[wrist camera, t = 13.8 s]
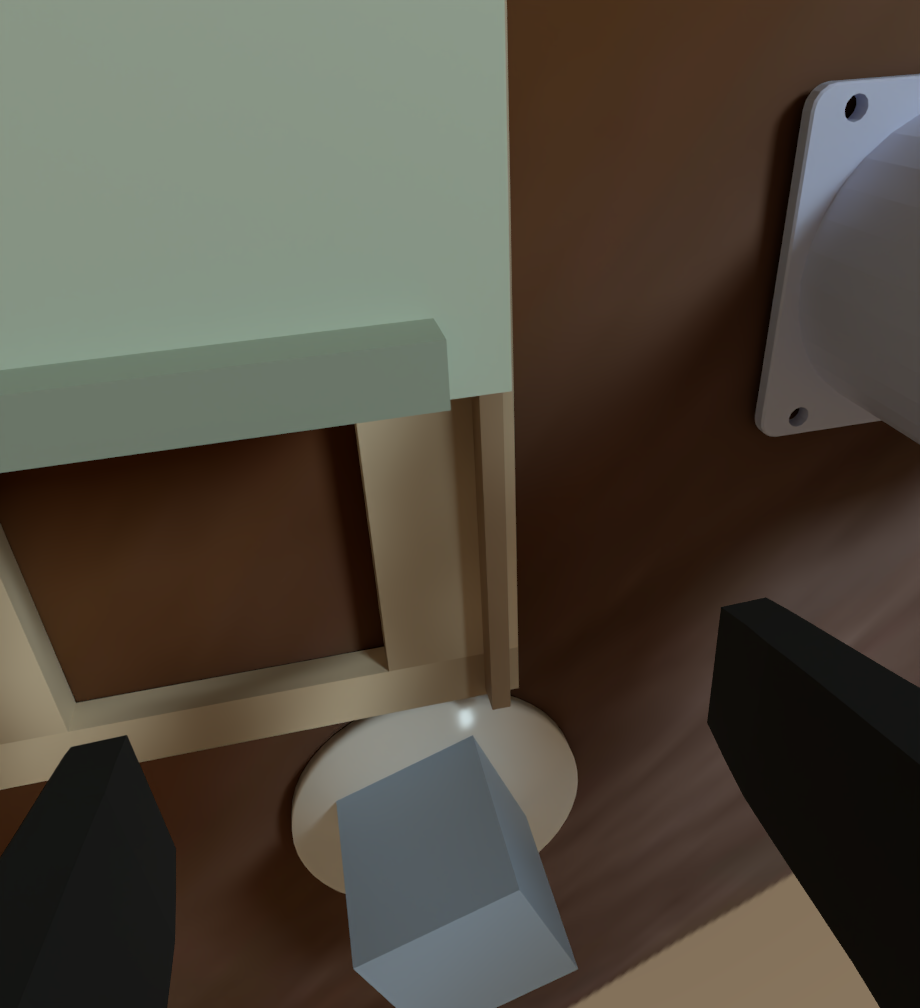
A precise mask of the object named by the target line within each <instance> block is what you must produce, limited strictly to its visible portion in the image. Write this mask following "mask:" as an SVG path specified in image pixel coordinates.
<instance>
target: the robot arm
mask: <svg viewBox="0 0 920 1008" xmlns="http://www.w3.org/2000/svg"><path fill="white" fill-rule="evenodd" d="M853 95H854V96H855V97H856V107H855V110H854V112H853V113H852V114H851V116H850V117H849V118H846V117H845V107H846V105H847V102H848V101H849V100H850V98H851V97H852V96H853ZM797 408H799V411H798V414H797V415H796V416H795V417H794V418H792V419H790V420H789V417H790V415H791V413H792V412H793V411H794V410H795V409H797ZM875 421H883V422H885V423H886V424H888V425H890V426H891V427H893V428H894V429H896V430H898V431H899V432H901V433H902V434H904V435H905V436H907V437H909V438H910V439H912V440H913V441H915V442H916V443H918V444H920V74H913V75H900V76H887V77H875V78H862V79H850V80H837V81H828V82H825V83H822V84H820V85H818V86H817V87H816V88H815V89H813V90H812V91H811V93H810V94H809V96H808V97H807V99H806V101H805V104H804V108H803V111H802V118H801V124H800V131H799V137H798V143H797V150H796V156H795V163H794V169H793V175H792V182H791V188H790V195H789V201H788V208H787V214H786V220H785V227H784V233H783V240H782V246H781V252H780V259H779V265H778V272H777V278H776V284H775V291H774V297H773V304H772V310H771V316H770V323H769V329H768V336H767V342H766V349H765V355H764V361H763V368H762V374H761V381H760V387H759V393H758V400H757V406H756V413H755V424H756V426H757V427H758V429H759V430H761V431H762V432H763V433H764V434H766V435H768V436H770V437H778V436H784V435H791V434H797V433H804V432H810V431H817V430H823V429H830V428H836V427H843V426H849V425H856V424H862V423H869V422H875ZM707 723H708V725H709V727H710V729H711V731H712V734H713V736H714V738H715V740H716V742H717V744H718V746H719V748H720V750H721V752H722V755H723V757H724V759H725V761H726V763H727V765H728V767H729V769H730V771H731V773H732V775H733V777H734V778H735V780H736V782H737V784H738V786H739V788H740V790H741V792H742V794H743V796H744V798H745V799H746V801H747V802H748V804H749V805H750V807H751V809H752V810H753V812H754V813H755V815H756V816H757V818H758V819H759V821H760V823H761V824H762V826H763V827H764V829H765V830H766V832H767V833H768V835H769V836H770V838H771V840H772V841H773V843H774V844H775V846H776V847H777V849H778V850H779V852H780V853H781V855H782V856H783V858H784V859H785V861H786V862H787V864H788V865H789V867H790V869H791V870H792V872H793V873H794V875H795V876H796V878H797V879H798V881H799V882H800V884H801V885H802V887H803V888H804V890H805V891H806V893H807V894H808V896H809V897H810V899H811V900H812V902H813V903H814V905H815V906H816V908H817V909H818V911H819V912H820V914H821V915H822V917H823V918H824V920H825V922H826V923H827V924H828V926H829V927H830V929H831V931H832V932H833V934H834V935H835V937H836V938H837V940H838V941H839V943H840V944H841V946H842V947H843V949H844V950H845V952H846V953H847V955H848V956H849V958H850V959H851V961H852V962H853V964H854V966H855V967H856V969H857V971H858V972H859V974H860V975H861V977H862V978H863V980H864V982H865V983H866V985H867V987H868V988H869V990H870V992H871V993H872V995H873V997H874V998H875V1000H876V1002H877V1003H878V1005H879V1007H880V1008H920V688H919V687H917V686H916V685H914V684H912V683H910V682H909V681H907V680H905V679H903V678H902V677H900V676H898V675H897V674H895V673H893V672H892V671H890V670H888V669H886V668H885V667H883V666H881V665H880V664H878V663H876V662H875V661H873V660H871V659H870V658H868V657H866V656H865V655H863V654H861V653H860V652H858V651H856V650H855V649H853V648H851V647H850V646H848V645H846V644H845V643H843V642H841V641H840V640H838V639H836V638H835V637H833V636H831V635H830V634H828V633H826V632H825V631H823V630H821V629H820V628H818V627H816V626H815V625H813V624H811V623H810V622H808V621H806V620H804V619H803V618H801V617H799V616H798V615H796V614H794V613H793V612H791V611H789V610H787V609H786V608H784V607H782V606H780V605H779V604H777V603H775V602H773V601H771V600H770V599H768V598H762V599H757V600H752V601H748V602H743V603H738V604H734V605H729V606H724V607H721V613H720V621H719V630H718V638H717V646H716V654H715V663H714V671H713V679H712V688H711V696H710V704H709V712H708V721H707ZM175 914H176V848H175V846H174V843H173V841H172V839H171V836H170V834H169V832H168V829H167V827H166V825H165V822H164V820H163V818H162V815H161V813H160V811H159V808H158V806H157V804H156V801H155V799H154V797H153V794H152V792H151V790H150V787H149V785H148V783H147V780H146V778H145V776H144V773H143V771H142V769H141V766H140V764H139V762H138V759H137V757H136V755H135V752H134V750H133V748H132V745H131V743H130V741H129V738H128V736H127V735H124V736H120V737H115V738H110V739H106V740H101V741H96V742H92V743H87V744H82V745H78V746H73V747H70V749H69V750H68V751H67V752H66V754H65V755H64V756H63V758H62V760H61V761H60V763H59V764H58V766H57V767H56V769H55V771H54V772H53V774H52V775H51V777H50V779H49V780H48V782H47V783H46V785H45V787H44V788H43V790H42V791H41V793H40V795H39V796H38V798H37V800H36V801H35V803H34V804H33V806H32V808H31V809H30V811H29V812H28V814H27V816H26V817H25V819H24V820H23V822H22V824H21V825H20V827H19V829H18V830H17V832H16V833H15V835H14V836H13V838H12V840H11V841H10V843H9V844H8V846H7V847H6V849H5V851H4V852H3V854H2V855H1V857H0V1008H167V1004H168V995H169V987H170V979H171V970H172V962H173V953H174V944H175Z"/></svg>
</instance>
